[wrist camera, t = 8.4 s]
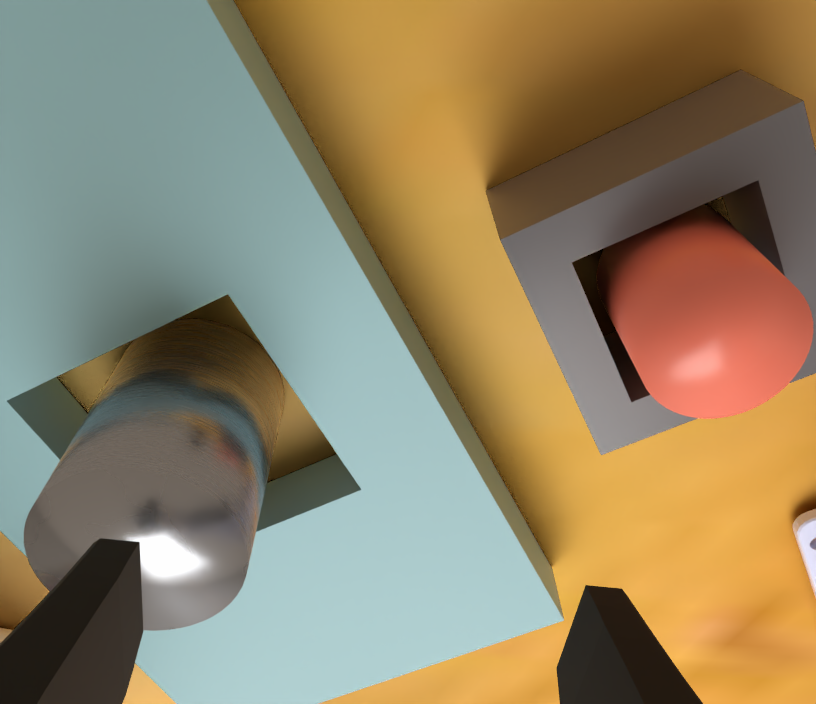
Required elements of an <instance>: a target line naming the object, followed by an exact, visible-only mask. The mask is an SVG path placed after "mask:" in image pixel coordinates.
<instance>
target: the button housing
mask: <svg viewBox="0 0 816 704" xmlns="http://www.w3.org/2000/svg"><path fill="white" fill-rule="evenodd" d="M486 194H487V198H488V201H489V204H490V208H491V211H492V214H493V218H494V221H495V224H496V228H497V231H498V234H499V238H500V241H501V243H502V245H503V247H504V249H505V251H506V253H507V255H508V258H509V260H510V262H511V264H512V266H513V268H514V270H515V273H516V275H517V277H518V279H519V281H520V283H521V285H522V287H523V290H524V292H525V294H526V296H527V298H528V300H529V302H530V305H531V307H532V309H533V311H534V313H535V315H536V317H537V319H538V322H539V324H540V326H541V328H542V330H543V332H544V334H545V336H546V339H547V341H548V343H549V345H550V347H551V349H552V351H553V354H554V356H555V358H556V360H557V362H558V364H559V366H560V368H561V371H562V373H563V375H564V377H565V379H566V381H567V383H568V386H569V388H570V390H571V392H572V394H573V396H574V398H575V400H576V403H577V405H578V407H579V409H580V411H581V413H582V415H583V417H584V420H585V422H586V424H587V426H588V428H589V430H590V432H591V435H592V437H593V439H594V441H595V443H596V445H597V447H598V449H599V452H600V454H601V455H603V454H606V453H608V452H611V451H613V450H616V449H619V448H621V447H624V446H626V445H629V444H632V443H634V442H637V441H640V440H642V439H645V438H647V437H650V436H653V435H655V434H658V433H660V432H663V431H666V430H668V429H671V428H674V427H676V426H679V425H681V424H684V423H687V422H689V421H692V420H694V419H697V418H693V417H688V416H684V415H681V414H678V413H675V412H673V411H671V410H669V409H667V408H665V407H664V406H662V405H661V404H660V403H658V402H657V401H656V400H655V399H654V398H653V397H652V396H651V395H650V393H649V392H648V391H647V389H646V388H645V386H644V384H643V382H642V380H641V378H640V376H639V374H638V372H637V370H636V368H635V366H634V364H633V362H632V360H631V358H630V356H629V354H628V352H627V350H626V348H625V346H624V344H623V342H622V340H621V338H620V336H619V334H618V332H617V331H615V332H613V333H611V334H608V335H606V336H603V335H602V332H601V330H600V328H599V325H598V323H597V321H596V318H595V316H594V314H593V311H592V309H591V307H590V304H589V302H588V300H587V297H586V295H585V292H584V290H583V288H582V285H581V283H580V281H579V278H578V276H577V274H576V271H575V269H574V267H573V264H572V262H574V261H576V260H579V259H581V258H583V257H585V256H588V255H590V254H592V253H594V252H597V251H599V250H601V249H603V248H606V247H608V246H610V245H612V244H615V243H617V242H619V241H622V240H624V239H626V238H628V237H631V236H633V235H635V234H637V233H640V232H642V231H644V230H646V229H649V228H651V227H653V226H655V225H658V224H660V223H662V222H664V221H667V220H669V219H671V218H674V217H676V216H678V215H680V214H683V213H685V212H687V211H689V210H692V209H694V208H696V207H698V206H701V205H703V204H705V203H707V202H710V201H712V200H714V199H716V198H719V197H721V196H723V199H724V202H725V205H726V209H727V212H728V215H729V219H730V222H731V224H732V225H733V226H734V227H735V228H736V229H737V230H738V231H739V232H740V233H741V234H742V235H743V236H744V237H745V238H746V239H747V240H748V241H749V242H750V243H751V244H752V245H753V246H754V247H755V248H756V249H757V250H758V251H759V252H760V253H761V254H762V255H764V256H765V257H766V258H767V259H768V260H769V261H770V262H771V263H772V264H773V265H774V266H775V267H776V268H777V269H778V270H779V271H780V272H781V273H782V274H783V275H784V276H785V277H786V278H787V279H788V280H789V281H790V282H791V283H792V284H793V285H794V286H795V287H796V288H797V289H798V290H799V291H800V292H801V293H802V295H803V296H804V297H805V299H806V301H807V303H808V305H809V307H810V310H811V313H812V318H813V338H812V343H811V347H810V350H809V353H808V355H807V358H806V360H805V362H804V364H803V365H802V367H801V369H800V370H799V372H798V373H797V374H796V375H795V377H794V378H793V379H792V380H791V381H790V382H789V383H791V382H794V381H796V380H799V379H802V378H804V377H807V376H809V375H812V374H815V373H816V151H815V147H814V143H813V139H812V134H811V130H810V126H809V122H808V117H807V113H806V109H805V105H804V101H803V100H801V99H799V98H797V97H795V96H793V95H791V94H789V93H787V92H785V91H783V90H781V89H779V88H777V87H775V86H773V85H771V84H769V83H767V82H765V81H763V80H761V79H759V78H757V77H755V76H753V75H751V74H748V73H746V72H744V71H742V70H739V71H737V72H735V73H733V74H731V75H729V76H727V77H725V78H723V79H720V80H718V81H716V82H714V83H712V84H710V85H708V86H706V87H704V88H701V89H699V90H697V91H695V92H693V93H691V94H689V95H687V96H685V97H683V98H680V99H678V100H676V101H674V102H672V103H670V104H668V105H666V106H664V107H661V108H659V109H657V110H655V111H653V112H651V113H649V114H647V115H645V116H643V117H640V118H638V119H636V120H634V121H632V122H630V123H628V124H626V125H624V126H621V127H619V128H617V129H615V130H613V131H611V132H609V133H607V134H605V135H603V136H600V137H598V138H596V139H594V140H592V141H590V142H588V143H586V144H584V145H582V146H579V147H577V148H575V149H573V150H571V151H569V152H567V153H565V154H563V155H560V156H558V157H556V158H554V159H552V160H550V161H548V162H546V163H544V164H542V165H539V166H537V167H535V168H533V169H531V170H529V171H527V172H525V173H523V174H520V175H518V176H516V177H514V178H512V179H510V180H508V181H506V182H504V183H502V184H499V185H497V186H495V187H493V188H491V189H489V190H487V191H486Z"/></svg>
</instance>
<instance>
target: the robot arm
mask: <svg viewBox="0 0 816 704" xmlns="http://www.w3.org/2000/svg"><path fill="white" fill-rule="evenodd" d="M793 531H794V534H795V537H796V540H797V543H798V546H799V549H800V552H801V555H802V558H803V561H804V564H805V567H806V570H807V573H808V576H809V579H810V582H811V585H812V588H813V591H814V594H815V597H816V539H815V538H816V509H813V510H810V511H808V512H805V513H803V514H801V515H800V516H798V517H797V518H796V519H795V521H794V523H793ZM813 539H815V540H813ZM142 635H143V609H142V585H141V562H140V542H135V541H124V540H114V539H104V538H100V539H98V540H97V541H95V542H94V543H93V544H92V545H91V546H90V547H89V549H88V550H87V551H86V552H85V553H84V554H83V556H82V557H81V558H80V559H79V560H78V561H77V562H76V564H75V565H74V566H73V567H72V568H71V569H70V570H69V572H68V573H67V574H66V575H65V576H64V577H63V578H62V579H61V580H60V582H59V583H58V584H57V585H56V586H55V587H54V588H53V589H52V590H51V591H50V592H49V593H48V595H47V596H46V597H45V598H44V599H43V600H42V601H41V602H40V603H39V604H38V605H37V606H36V607H35V608H34V609H33V610H32V611H31V613H30V614H29V615H28V616H27V617H26V618H25V619H24V620H23V621H22V622H21V623H20V624H19V625H18V626H17V627H16V628H15V629H14V630H13V631H12V632H11V633H10V634H9V635H8V636H7V637H6V638H5V639H4V640H3V641H2V642H1V643H0V704H122V703H123V700H124V698H125V695H126V692H127V688H128V685H129V681H130V678H131V674H132V671H133V668H134V664H135V660H136V657H137V653H138V649H139V646H140V642H141V638H142ZM557 677H558V687H559V698H560V704H703V703H702V702H701V700H700V699H699V698H698V696H697V695H696V694H695V692H694V691H693V689H692V688H691V687H690V685H689V684H688V683H687V681H686V680H685V679H684V677H683V676H682V674H681V673H680V672H679V670H678V669H677V667H676V666H675V665H674V663H673V662H672V660H671V659H670V657H669V656H668V655H667V653H666V652H665V650H664V649H663V647H662V646H661V645H660V643H659V642H658V640H657V639H656V637H655V636H654V634H653V633H652V631H651V630H650V629H649V627H648V626H647V624H646V623H645V621H644V620H643V618H642V617H641V615H640V614H639V612H638V611H637V609H636V608H635V607H634V605H633V604H632V602H631V601H630V599H629V598H628V596H627V595H626V594H625V592H624V591H623V590H622V589H618V588H608V587H598V586H588V585H586V586H585V589H584V592H583V595H582V597H581V600H580V603H579V606H578V609H577V612H576V615H575V617H574V620H573V623H572V626H571V629H570V632H569V634H568V637H567V640H566V643H565V646H564V649H563V651H562V654H561V657H560V660H559V663H558V666H557Z"/></svg>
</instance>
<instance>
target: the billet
mask: <svg viewBox="0 0 816 704" xmlns="http://www.w3.org/2000/svg"><path fill="white" fill-rule="evenodd" d="M283 406H284V387H283V382H282V379H281V375H280V373H279V371H278V369H277V367H276V365H275V363H274V362H273V360H272V359H271V357H270V356H269V355H268V354H267V352H266V351H265V350H264V349H263V348H262V347H261V346H260V345H259V344H258V343H257V342H255V341H254V340H253V339H251V338H250V337H249V336H247V335H245V334H244V333H242V332H240V331H238V330H237V329H234V328H232V327H230V326H227V325H224V324H221V323H218V322H214V321H209V320H202V319H179V320H173V321H171V322H169V323H167V324H165V325H163V326H161V327H159V328H157V329H155V330H153V331H150V332H148V333H146V334H144V335H142V336H140V337H138V338H136V339H135V340H134V341H133V342H132V343H131V344H130V345H129V346H128V348H127V349H126V351H125V353H124V354H123V356H122V358H121V359H120V361H119V363H118V364H117V366H116V368H115V369H114V371H113V373H112V374H111V376H110V378H109V379H108V381H107V383H106V384H105V386H104V388H103V389H102V391H101V393H100V394H99V396H98V398H97V399H96V401H95V403H94V404H93V406H92V408H91V409H90V411H89V413H88V414H87V416H86V418H85V419H84V421H83V423H82V424H81V426H80V428H79V429H78V431H77V433H76V434H75V436H74V438H73V440H72V441H71V443H70V445H69V446H68V448H67V450H66V451H65V453H64V455H63V456H62V458H61V460H60V461H59V463H58V465H57V466H56V468H55V470H54V471H53V473H52V475H51V476H50V478H49V480H48V481H47V483H46V485H45V486H44V488H43V490H42V491H41V493H40V495H39V496H38V498H37V500H36V501H35V503H34V505H33V506H32V508H31V510H30V511H29V514H28V516H27V519H26V522H25V527H24V547H25V552H26V555H27V558H28V561H29V563H30V565H31V567H32V569H33V571H34V573H35V574H36V576H37V577H38V578H39V580H40V581H41V582H42V584H43V585H44V586H45V587H46V588H47V589H48V590H49V591H51V590H52V589H53V588H54V587H55V586H56V585H57V584H58V583H59V582H60V580H61V579H62V578H63V577H64V576H65V575H66V574H67V573H68V572H69V570H70V569H71V568H72V567H73V566H74V565H75V564H76V562H77V561H78V560H79V559H80V558H81V557H82V556H83V554H84V553H85V552H86V551H87V550H88V549H89V547H90V546H91V545H92V544H93V543H94V542H95V541H97V540H98V539H100V538H104V539H114V540H124V541H135V542H140V562H141V585H142V609H143V630H147V631H159V630H171V629H179V628H183V627H187V626H191V625H194V624H197V623H200V622H203V621H205V620H207V619H209V618H211V617H213V616H214V615H216V614H218V613H219V612H221V611H222V610H223V609H224V608H226V607H227V606H228V605H229V604H230V603H231V602H232V601H233V600H234V599H235V597H236V596H237V595H238V593H239V591H240V590H241V588H242V586H243V584H244V581H245V578H246V575H247V570H248V566H249V561H250V557H251V552H252V548H253V543H254V539H255V534H256V529H257V525H258V520H259V516H260V511H261V507H262V502H263V498H264V493H265V489H266V484H267V480H268V475H269V470H270V466H271V461H272V457H273V452H274V448H275V443H276V439H277V434H278V430H279V425H280V420H281V416H282V411H283Z"/></svg>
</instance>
